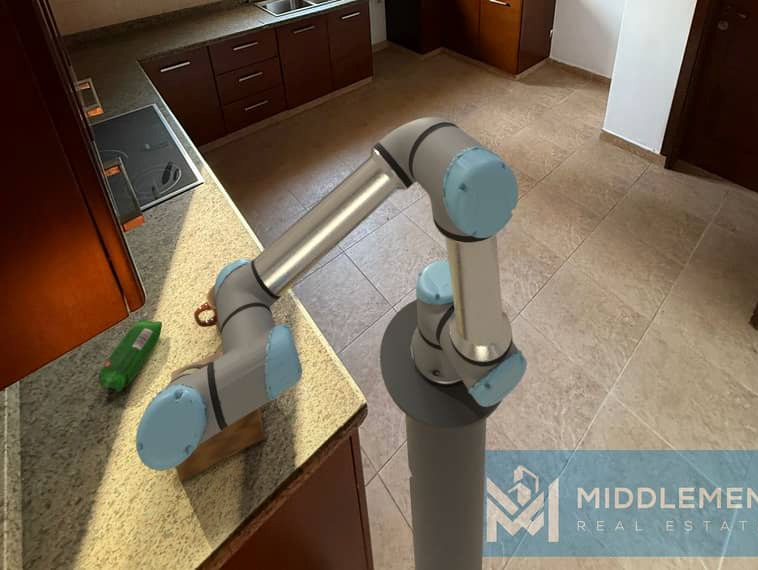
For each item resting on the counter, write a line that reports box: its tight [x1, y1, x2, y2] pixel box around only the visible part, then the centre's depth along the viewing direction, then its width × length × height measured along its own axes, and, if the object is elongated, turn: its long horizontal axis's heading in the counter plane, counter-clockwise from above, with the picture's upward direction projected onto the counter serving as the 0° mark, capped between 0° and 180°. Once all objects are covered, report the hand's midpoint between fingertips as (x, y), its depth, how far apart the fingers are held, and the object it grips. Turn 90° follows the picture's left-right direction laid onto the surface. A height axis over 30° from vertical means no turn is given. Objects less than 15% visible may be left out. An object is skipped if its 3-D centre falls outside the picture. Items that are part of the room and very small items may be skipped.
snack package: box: [98, 317, 163, 392], centre depth 100 cm, size 7×16×5 cm, turn 173°
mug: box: [193, 284, 220, 333], centre depth 105 cm, size 12×9×10 cm
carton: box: [170, 350, 265, 482], centre depth 85 cm, size 15×13×11 cm
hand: (208, 371), depth 82 cm, fingers closed
